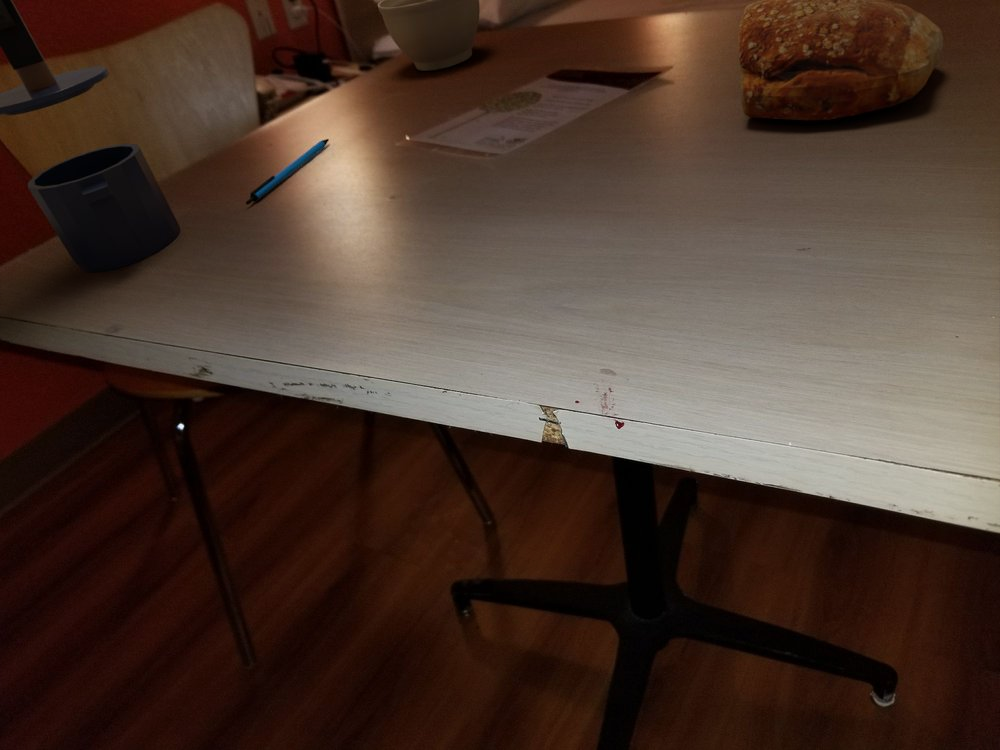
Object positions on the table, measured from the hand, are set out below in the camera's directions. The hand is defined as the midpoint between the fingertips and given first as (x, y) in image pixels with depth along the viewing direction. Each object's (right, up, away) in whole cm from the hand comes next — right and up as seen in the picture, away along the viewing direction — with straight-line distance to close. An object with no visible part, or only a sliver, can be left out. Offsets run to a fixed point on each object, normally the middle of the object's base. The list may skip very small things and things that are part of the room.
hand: (28, 62), depth 70 cm
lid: (+1, -2, +2) cm, 3 cm away
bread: (+80, -1, +5) cm, 80 cm away
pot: (+4, -16, +12) cm, 20 cm away
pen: (+20, -5, +21) cm, 29 cm away
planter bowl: (+36, +22, +51) cm, 66 cm away
